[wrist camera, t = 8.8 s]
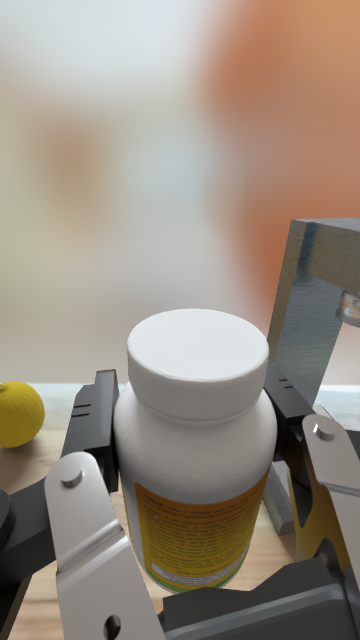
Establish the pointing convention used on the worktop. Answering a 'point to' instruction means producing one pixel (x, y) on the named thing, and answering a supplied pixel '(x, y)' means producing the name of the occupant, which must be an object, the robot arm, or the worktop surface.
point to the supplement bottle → (194, 444)
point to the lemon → (19, 414)
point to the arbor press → (310, 322)
